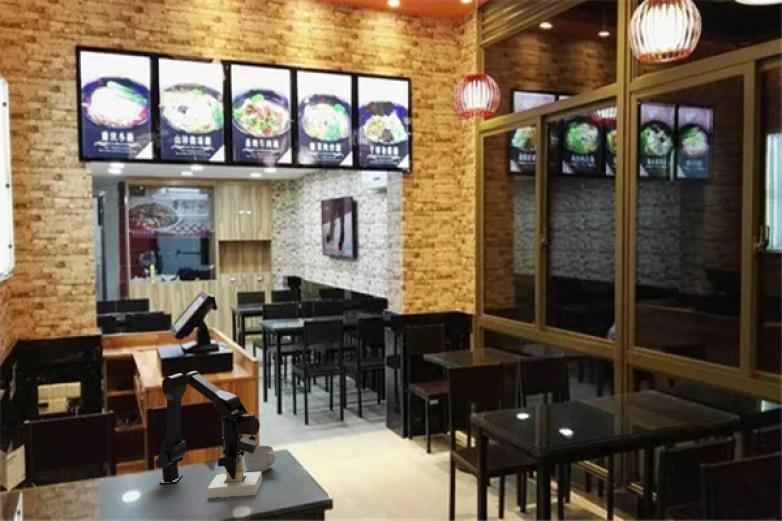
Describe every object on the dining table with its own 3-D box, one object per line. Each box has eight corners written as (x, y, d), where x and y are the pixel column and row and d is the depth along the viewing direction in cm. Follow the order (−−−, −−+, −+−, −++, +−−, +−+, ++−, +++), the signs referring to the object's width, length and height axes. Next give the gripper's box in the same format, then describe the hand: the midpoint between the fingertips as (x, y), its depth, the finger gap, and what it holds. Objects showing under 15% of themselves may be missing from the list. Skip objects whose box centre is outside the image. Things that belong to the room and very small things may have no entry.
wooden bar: (229, 480, 220) (227, 455, 219) (243, 479, 220) (241, 454, 219) (227, 484, 216) (225, 459, 216) (241, 483, 216) (239, 458, 216)
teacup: (239, 470, 236) (238, 450, 236) (264, 462, 243) (263, 442, 243) (259, 479, 226) (257, 458, 225) (284, 470, 233) (283, 449, 233)
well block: (217, 484, 224) (216, 474, 224) (262, 480, 224) (261, 471, 224) (208, 498, 212) (207, 488, 212) (255, 494, 212) (254, 484, 212)
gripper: (248, 439, 208) (252, 485, 209) (259, 422, 227) (263, 465, 227) (215, 442, 208) (219, 488, 209) (229, 425, 227) (232, 467, 227)
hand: (234, 476), depth 218 cm, fingers closed on wooden bar, 3 cm apart
